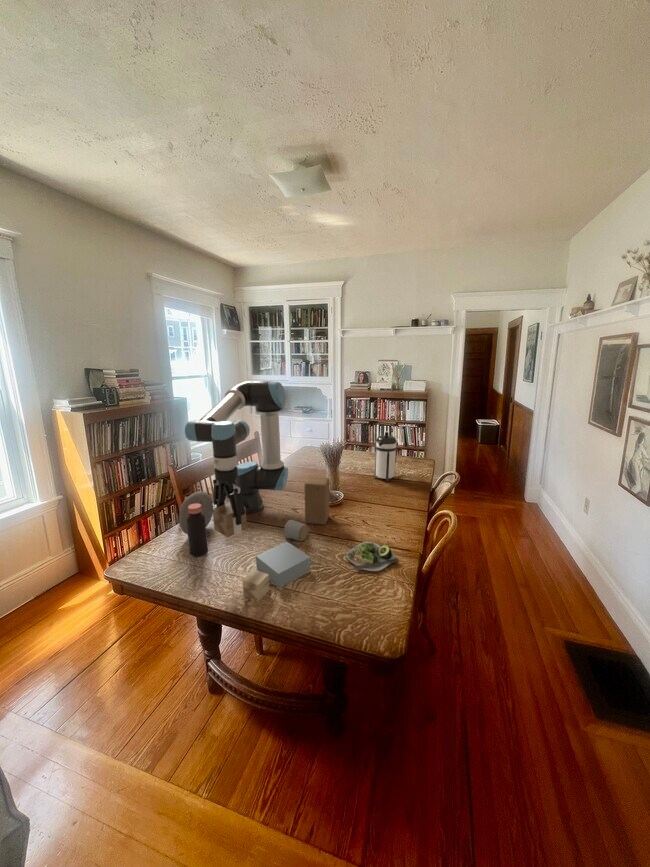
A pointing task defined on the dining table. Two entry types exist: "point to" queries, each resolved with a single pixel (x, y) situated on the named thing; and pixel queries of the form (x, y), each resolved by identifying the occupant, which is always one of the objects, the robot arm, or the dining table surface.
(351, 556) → the salad plate
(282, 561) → the slate block
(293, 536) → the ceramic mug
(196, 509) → the bottle
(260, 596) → the maple cube
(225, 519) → the walnut cube
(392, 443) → the coffee press
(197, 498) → the grey round disc
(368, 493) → the dining table surface
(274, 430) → the robot arm
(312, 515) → the wooden block
